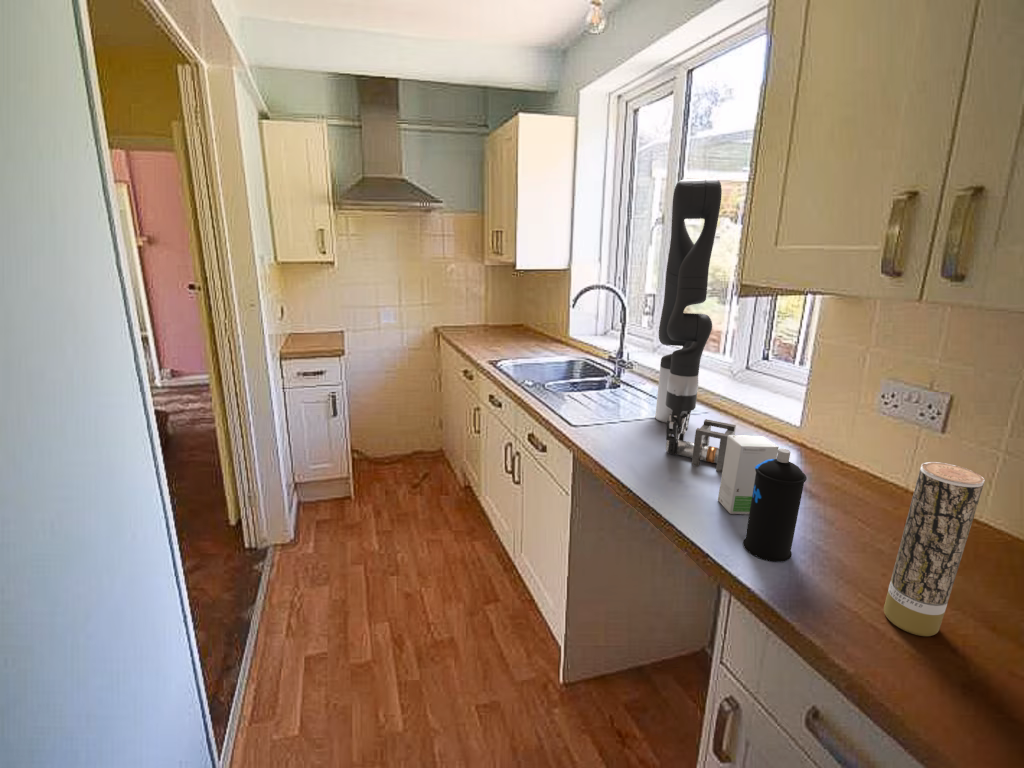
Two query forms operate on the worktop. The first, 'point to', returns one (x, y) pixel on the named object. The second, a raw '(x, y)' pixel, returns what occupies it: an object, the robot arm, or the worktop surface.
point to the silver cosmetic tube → (687, 448)
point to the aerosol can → (774, 508)
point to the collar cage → (703, 439)
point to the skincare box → (742, 470)
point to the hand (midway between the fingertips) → (675, 450)
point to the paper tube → (932, 546)
